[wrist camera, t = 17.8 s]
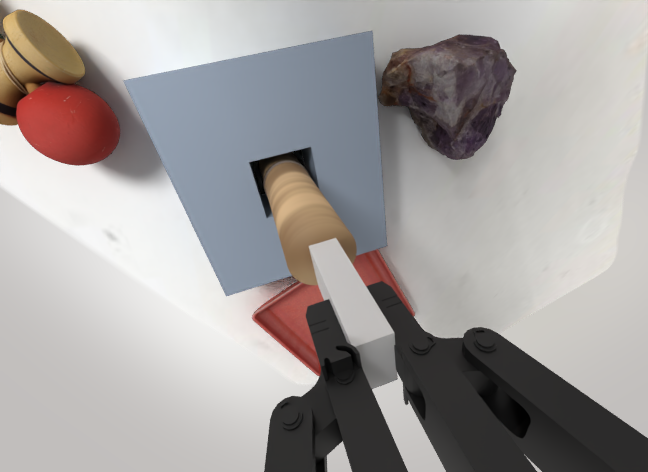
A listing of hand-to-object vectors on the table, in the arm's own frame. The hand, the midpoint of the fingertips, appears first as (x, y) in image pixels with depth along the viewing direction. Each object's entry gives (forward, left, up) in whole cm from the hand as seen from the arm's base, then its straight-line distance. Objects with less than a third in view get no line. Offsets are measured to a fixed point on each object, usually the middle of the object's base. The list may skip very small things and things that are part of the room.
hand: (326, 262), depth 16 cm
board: (0, 0, -19) cm, 19 cm away
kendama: (-14, -17, -19) cm, 29 cm away
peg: (0, 0, -19) cm, 19 cm away
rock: (-4, +17, -19) cm, 26 cm away
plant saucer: (+22, +3, -19) cm, 29 cm away
